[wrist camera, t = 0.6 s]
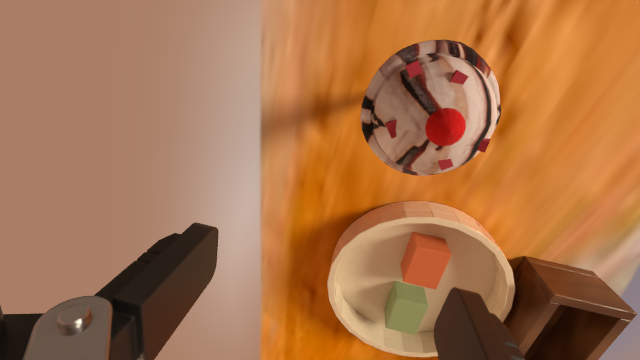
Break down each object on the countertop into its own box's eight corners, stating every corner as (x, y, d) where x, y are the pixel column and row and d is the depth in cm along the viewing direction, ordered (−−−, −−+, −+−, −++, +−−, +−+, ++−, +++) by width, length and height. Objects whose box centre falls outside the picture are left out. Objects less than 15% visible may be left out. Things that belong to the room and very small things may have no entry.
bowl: (349, 183, 27) (347, 198, 24) (531, 223, 26) (551, 243, 23) (319, 311, 33) (315, 333, 31) (463, 346, 32) (471, 374, 30)
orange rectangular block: (412, 231, 27) (416, 246, 25) (444, 238, 27) (451, 254, 25) (400, 264, 29) (402, 282, 27) (430, 272, 28) (436, 290, 26)
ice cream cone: (448, 104, 23) (570, 178, 9) (379, 135, 25) (396, 235, 11) (423, 32, 21) (525, -10, 8) (351, 70, 23) (328, 91, 9)
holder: (524, 255, 27) (554, 294, 23) (593, 271, 27) (637, 313, 22) (468, 353, 32) (484, 399, 28) (524, 367, 32) (549, 416, 28)
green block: (394, 280, 30) (396, 298, 27) (424, 287, 29) (428, 306, 27) (384, 309, 31) (385, 328, 29) (412, 315, 31) (415, 335, 29)
